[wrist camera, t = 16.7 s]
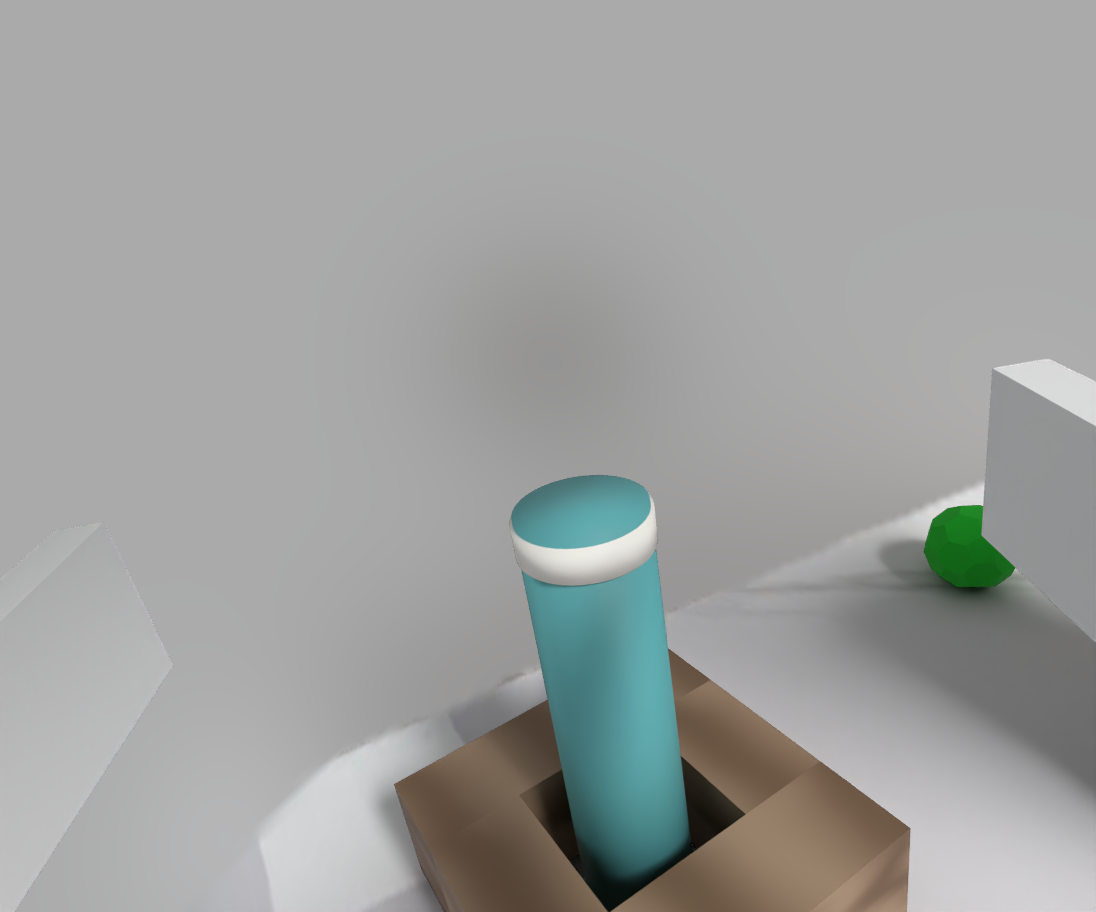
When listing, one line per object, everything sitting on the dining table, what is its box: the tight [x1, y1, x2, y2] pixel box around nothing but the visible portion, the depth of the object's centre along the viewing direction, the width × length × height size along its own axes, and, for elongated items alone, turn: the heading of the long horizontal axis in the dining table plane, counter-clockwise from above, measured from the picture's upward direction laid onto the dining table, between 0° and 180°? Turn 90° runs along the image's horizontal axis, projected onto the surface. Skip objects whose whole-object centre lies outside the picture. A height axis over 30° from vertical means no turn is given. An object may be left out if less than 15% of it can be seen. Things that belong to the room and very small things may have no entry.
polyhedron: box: [924, 505, 1015, 587], centre depth 45 cm, size 5×5×5 cm
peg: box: [509, 475, 692, 912], centre depth 28 cm, size 5×5×18 cm
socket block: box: [394, 649, 910, 912], centre depth 30 cm, size 14×14×5 cm
